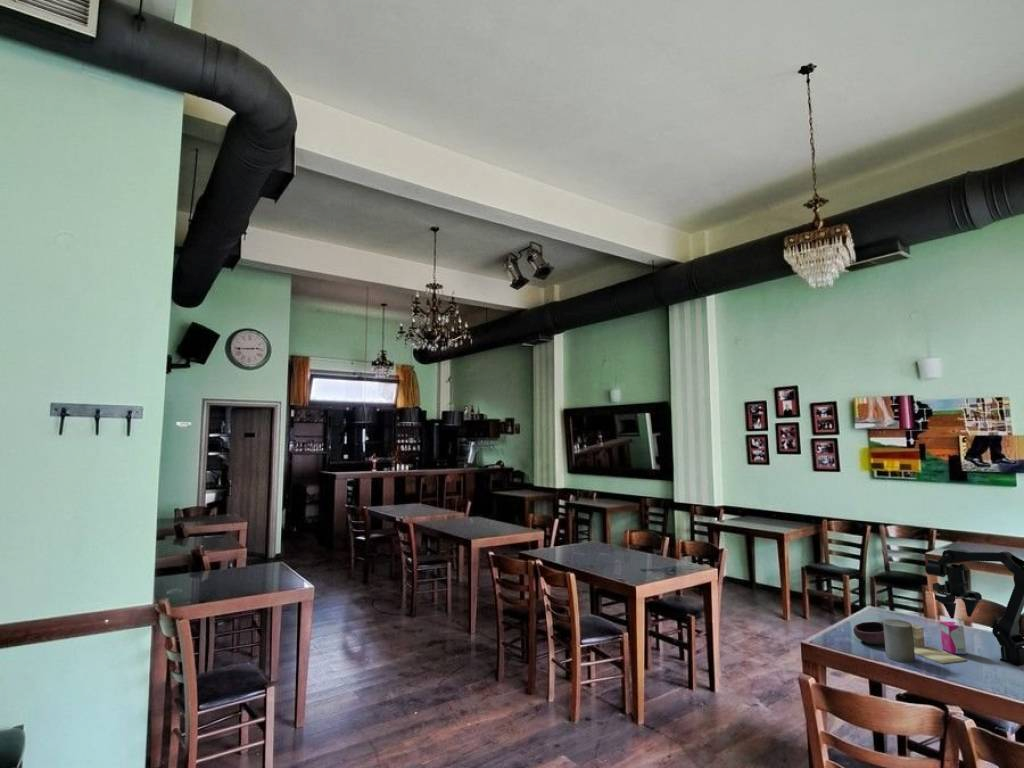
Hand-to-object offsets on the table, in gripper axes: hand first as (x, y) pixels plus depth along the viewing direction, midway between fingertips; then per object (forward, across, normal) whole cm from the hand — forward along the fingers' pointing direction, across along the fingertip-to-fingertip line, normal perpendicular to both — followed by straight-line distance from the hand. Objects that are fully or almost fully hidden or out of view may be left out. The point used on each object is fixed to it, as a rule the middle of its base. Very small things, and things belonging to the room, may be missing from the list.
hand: (960, 617), depth 231 cm
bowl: (+12, +31, -15) cm, 37 cm away
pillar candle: (+12, +36, +2) cm, 38 cm away
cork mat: (+12, +20, +4) cm, 23 cm away
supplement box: (+12, +9, +3) cm, 16 cm away
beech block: (+12, +17, -7) cm, 22 cm away
